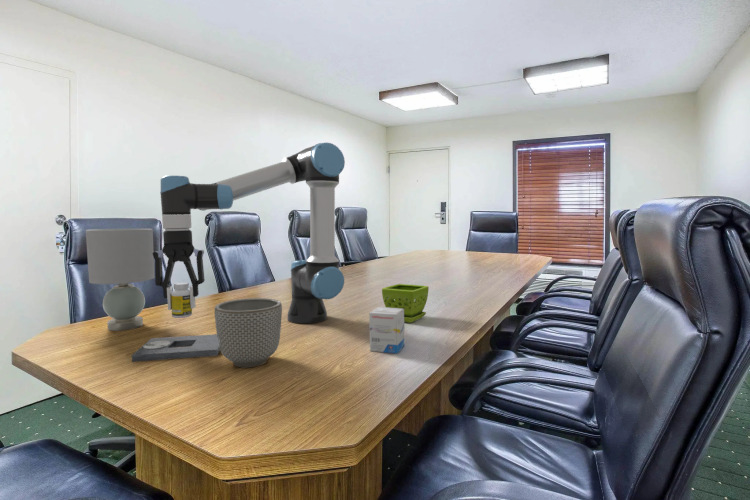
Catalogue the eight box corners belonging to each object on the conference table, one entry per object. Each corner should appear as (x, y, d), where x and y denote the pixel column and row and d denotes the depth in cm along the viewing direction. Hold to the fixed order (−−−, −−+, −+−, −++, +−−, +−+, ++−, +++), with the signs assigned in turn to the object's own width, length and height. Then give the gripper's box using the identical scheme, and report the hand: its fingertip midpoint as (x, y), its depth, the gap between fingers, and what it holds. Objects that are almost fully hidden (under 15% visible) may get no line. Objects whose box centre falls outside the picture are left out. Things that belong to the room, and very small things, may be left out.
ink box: (405, 345, 123) (405, 307, 122) (397, 354, 115) (397, 314, 114) (378, 342, 126) (378, 305, 125) (369, 351, 118) (368, 311, 117)
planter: (246, 379, 97) (244, 314, 96) (202, 365, 106) (200, 306, 105) (296, 358, 112) (295, 301, 111) (253, 348, 121) (252, 295, 120)
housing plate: (225, 339, 130) (225, 332, 130) (217, 355, 114) (216, 348, 114) (151, 343, 125) (151, 337, 125) (131, 361, 110) (131, 354, 110)
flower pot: (429, 317, 157) (429, 285, 156) (413, 326, 145) (413, 291, 144) (398, 313, 164) (398, 282, 163) (380, 320, 153) (380, 287, 152)
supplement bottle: (184, 318, 116) (182, 285, 115) (167, 317, 117) (166, 284, 116) (196, 314, 121) (195, 282, 120) (180, 313, 122) (179, 281, 121)
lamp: (78, 331, 140) (71, 229, 137) (132, 317, 158) (127, 228, 156) (117, 337, 132) (111, 230, 130) (169, 322, 151) (165, 228, 148)
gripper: (213, 228, 122) (217, 303, 124) (147, 230, 118) (152, 307, 120) (208, 229, 115) (212, 309, 117) (137, 230, 111) (143, 313, 113)
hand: (182, 307), depth 119 cm, fingers closed on supplement bottle, 5 cm apart
